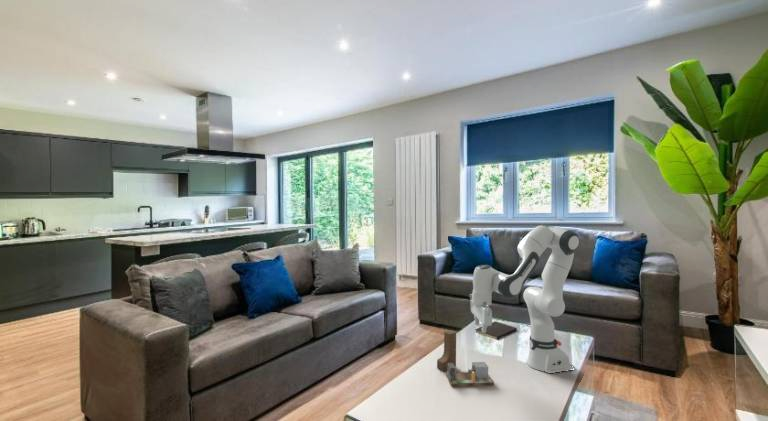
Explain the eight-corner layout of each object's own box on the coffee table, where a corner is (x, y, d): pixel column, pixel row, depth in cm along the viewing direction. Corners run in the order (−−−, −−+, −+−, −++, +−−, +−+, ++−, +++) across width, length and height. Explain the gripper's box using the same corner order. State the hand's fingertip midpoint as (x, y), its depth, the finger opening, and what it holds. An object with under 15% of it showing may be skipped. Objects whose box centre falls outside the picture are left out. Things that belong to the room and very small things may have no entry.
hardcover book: (474, 332, 227) (474, 329, 227) (494, 324, 242) (494, 321, 242) (497, 340, 215) (497, 336, 215) (516, 331, 230) (516, 327, 230)
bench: (486, 374, 173) (486, 359, 172) (494, 385, 163) (494, 369, 162) (446, 375, 171) (446, 360, 171) (451, 387, 161) (451, 370, 161)
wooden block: (442, 371, 175) (443, 336, 174) (436, 368, 179) (437, 333, 178) (456, 367, 180) (456, 332, 179) (450, 363, 184) (450, 329, 183)
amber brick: (473, 379, 164) (473, 371, 164) (474, 381, 162) (475, 373, 162) (471, 379, 164) (471, 371, 164) (472, 381, 162) (472, 373, 162)
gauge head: (484, 374, 170) (484, 361, 170) (490, 382, 162) (490, 369, 162) (467, 374, 169) (467, 362, 169) (472, 382, 162) (472, 370, 162)
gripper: (496, 306, 158) (495, 337, 158) (481, 293, 178) (479, 320, 178) (482, 306, 157) (481, 336, 158) (468, 293, 178) (467, 320, 178)
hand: (480, 328), depth 168 cm, fingers open, 8 cm apart
